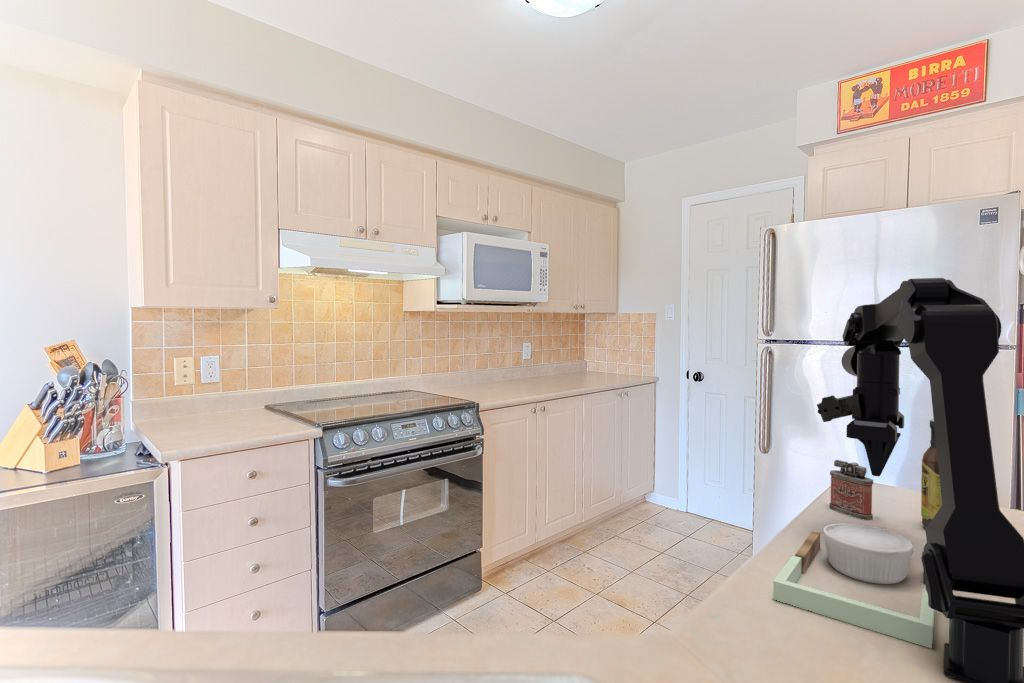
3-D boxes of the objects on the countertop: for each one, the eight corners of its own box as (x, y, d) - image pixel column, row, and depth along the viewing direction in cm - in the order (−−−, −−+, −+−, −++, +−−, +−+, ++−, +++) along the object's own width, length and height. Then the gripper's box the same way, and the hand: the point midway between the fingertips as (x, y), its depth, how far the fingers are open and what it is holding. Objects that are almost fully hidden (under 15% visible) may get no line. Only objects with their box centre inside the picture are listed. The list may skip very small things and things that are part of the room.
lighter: (877, 518, 99) (877, 466, 99) (864, 521, 98) (865, 468, 98) (836, 505, 107) (837, 457, 107) (825, 507, 106) (826, 458, 106)
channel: (932, 608, 67) (932, 583, 67) (794, 571, 78) (795, 550, 77) (935, 575, 76) (935, 553, 76) (811, 546, 87) (812, 527, 87)
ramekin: (829, 548, 86) (830, 516, 86) (915, 569, 79) (915, 534, 79) (815, 572, 77) (815, 537, 77) (909, 597, 70) (910, 558, 70)
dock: (931, 648, 59) (932, 626, 59) (773, 599, 69) (773, 581, 69) (934, 610, 67) (935, 591, 67) (792, 572, 77) (792, 555, 77)
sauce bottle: (926, 521, 98) (928, 416, 98) (969, 531, 93) (972, 420, 93) (916, 529, 94) (918, 419, 94) (961, 540, 89) (963, 424, 89)
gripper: (831, 375, 99) (830, 457, 99) (810, 382, 84) (809, 478, 85) (905, 379, 91) (903, 467, 92) (895, 387, 77) (893, 492, 77)
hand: (876, 475), depth 87 cm, fingers closed
